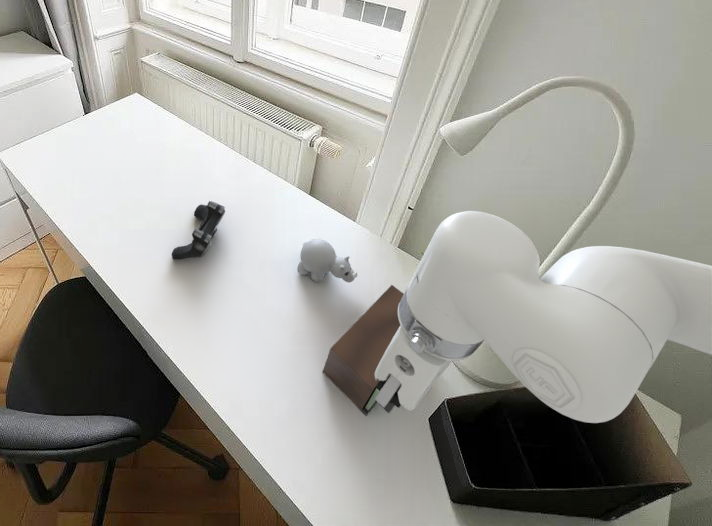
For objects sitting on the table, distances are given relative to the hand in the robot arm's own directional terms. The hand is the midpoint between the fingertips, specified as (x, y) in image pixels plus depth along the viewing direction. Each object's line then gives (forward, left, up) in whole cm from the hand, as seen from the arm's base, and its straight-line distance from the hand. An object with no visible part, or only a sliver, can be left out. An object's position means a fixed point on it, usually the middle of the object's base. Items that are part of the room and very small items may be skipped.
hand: (393, 389), depth 52 cm
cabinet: (+6, -12, -19) cm, 23 cm away
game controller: (+47, -5, -19) cm, 51 cm away
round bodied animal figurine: (+22, -19, -19) cm, 35 cm away
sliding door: (+1, -8, -18) cm, 20 cm away
